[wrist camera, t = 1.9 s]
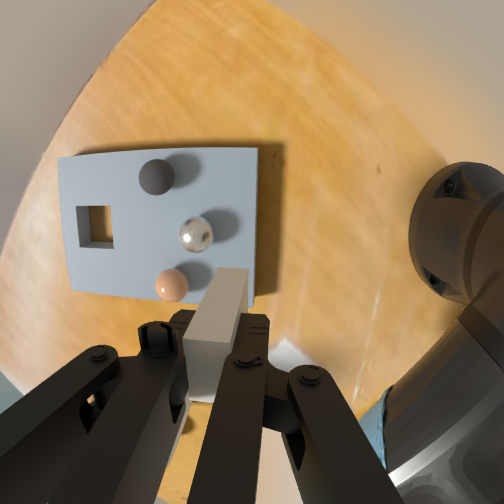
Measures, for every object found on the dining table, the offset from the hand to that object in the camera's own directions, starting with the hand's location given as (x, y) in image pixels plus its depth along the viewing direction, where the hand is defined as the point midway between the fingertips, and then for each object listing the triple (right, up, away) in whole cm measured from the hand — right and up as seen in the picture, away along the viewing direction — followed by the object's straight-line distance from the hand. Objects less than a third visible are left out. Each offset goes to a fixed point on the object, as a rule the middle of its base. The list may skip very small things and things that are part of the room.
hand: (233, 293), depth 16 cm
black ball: (-7, +9, +10) cm, 15 cm away
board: (-9, +5, +16) cm, 19 cm away
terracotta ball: (-7, -1, +13) cm, 15 cm away
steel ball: (-4, +4, +11) cm, 13 cm away
